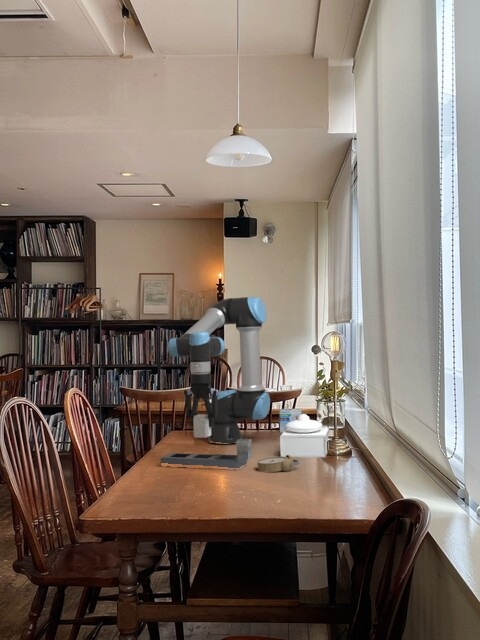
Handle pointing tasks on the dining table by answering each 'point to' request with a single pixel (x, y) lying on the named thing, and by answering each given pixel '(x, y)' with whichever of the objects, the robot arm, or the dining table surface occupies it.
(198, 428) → the grey rectangular block
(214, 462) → the grey metal flat frame
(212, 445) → the dining table surface
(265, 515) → the dining table surface
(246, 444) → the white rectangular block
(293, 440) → the white box with dome
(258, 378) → the robot arm
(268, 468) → the alarm clock
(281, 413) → the light bulb box
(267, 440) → the dining table surface
